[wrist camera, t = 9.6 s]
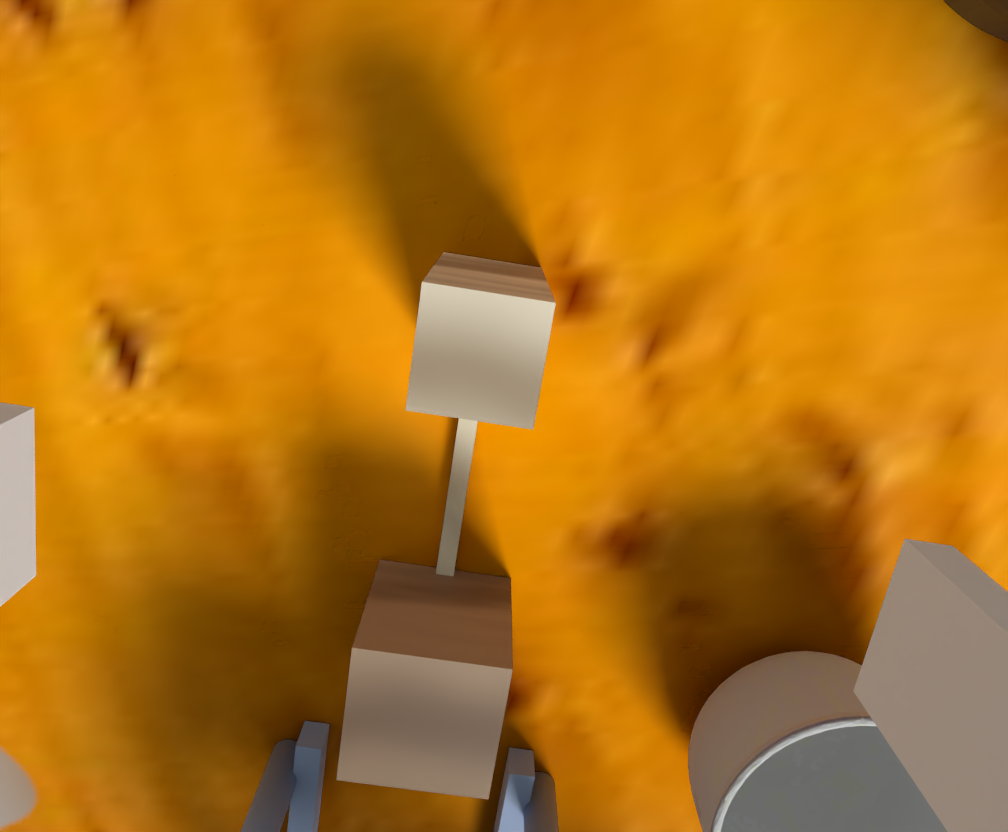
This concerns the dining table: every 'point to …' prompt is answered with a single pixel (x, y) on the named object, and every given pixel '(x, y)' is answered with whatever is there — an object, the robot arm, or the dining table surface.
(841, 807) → the teacup
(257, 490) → the dining table surface
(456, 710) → the cream rod with blocks
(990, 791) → the robot arm
